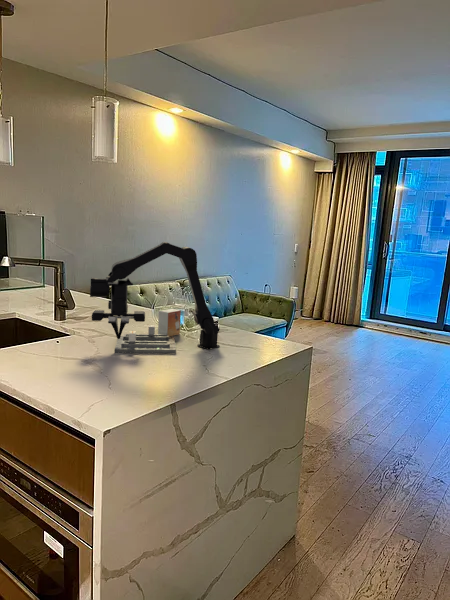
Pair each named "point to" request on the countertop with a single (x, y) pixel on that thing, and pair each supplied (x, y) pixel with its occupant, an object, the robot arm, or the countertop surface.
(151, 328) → the fader cap grey
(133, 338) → the block
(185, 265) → the robot arm
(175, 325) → the small box
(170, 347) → the panel
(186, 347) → the countertop surface
